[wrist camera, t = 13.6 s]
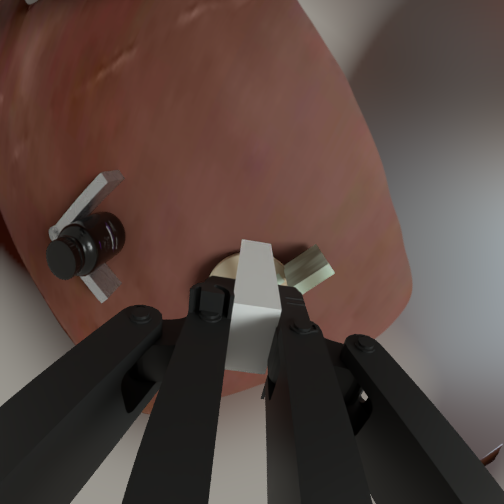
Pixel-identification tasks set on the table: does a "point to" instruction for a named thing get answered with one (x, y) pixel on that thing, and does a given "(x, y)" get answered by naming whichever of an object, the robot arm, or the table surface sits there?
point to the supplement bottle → (85, 245)
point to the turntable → (287, 269)
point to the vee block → (92, 196)
